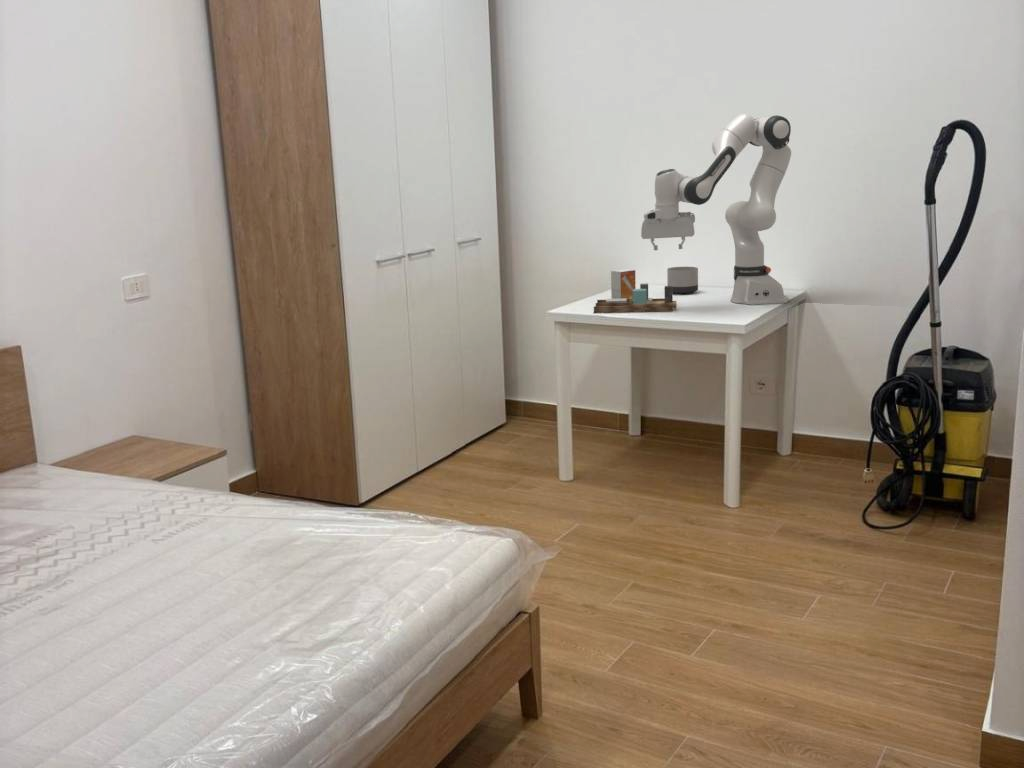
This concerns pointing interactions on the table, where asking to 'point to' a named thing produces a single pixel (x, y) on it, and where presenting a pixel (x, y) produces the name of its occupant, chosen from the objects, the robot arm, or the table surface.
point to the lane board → (629, 307)
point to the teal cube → (639, 296)
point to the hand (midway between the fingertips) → (668, 249)
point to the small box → (622, 283)
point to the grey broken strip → (642, 286)
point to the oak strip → (667, 301)
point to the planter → (683, 279)
